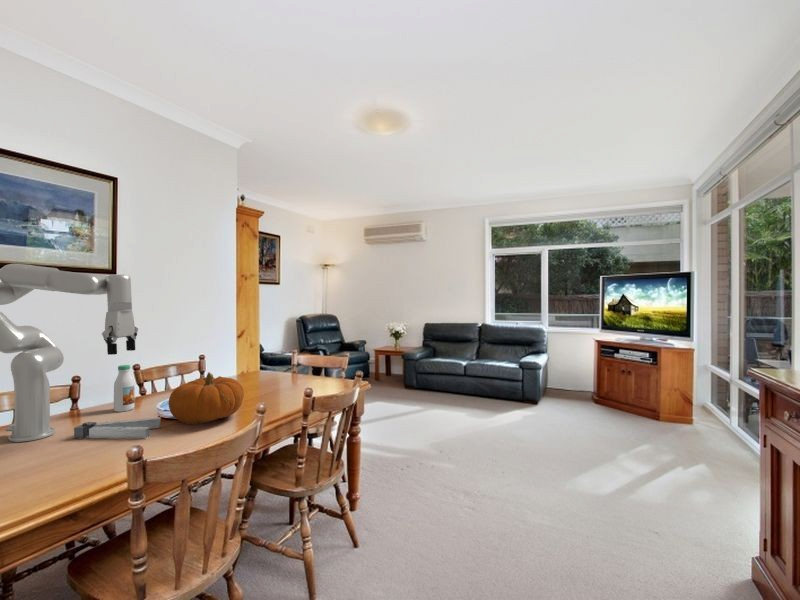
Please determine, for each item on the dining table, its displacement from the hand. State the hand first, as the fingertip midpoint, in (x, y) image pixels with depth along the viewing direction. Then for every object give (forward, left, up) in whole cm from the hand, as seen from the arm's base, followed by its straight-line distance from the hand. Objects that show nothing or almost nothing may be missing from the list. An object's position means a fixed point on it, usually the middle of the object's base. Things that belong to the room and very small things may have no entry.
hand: (122, 352), depth 151 cm
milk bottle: (-19, +28, -30) cm, 45 cm away
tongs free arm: (+2, +1, -30) cm, 30 cm away
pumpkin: (+25, +15, -30) cm, 42 cm away
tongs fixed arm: (+1, -5, -30) cm, 31 cm away
